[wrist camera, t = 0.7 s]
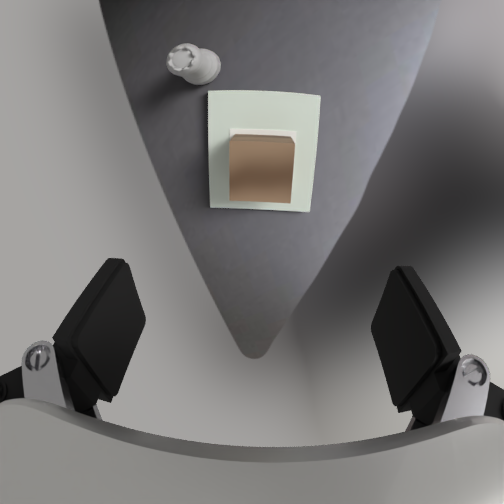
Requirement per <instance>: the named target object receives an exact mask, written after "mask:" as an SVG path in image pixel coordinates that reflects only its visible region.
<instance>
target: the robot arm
mask: <svg viewBox="0 0 504 504" xmlns="http://www.w3.org/2000/svg"><path fill="white" fill-rule="evenodd" d="M145 321H146V317H145V314H144V311H143V308H142V305H141V302H140V299H139V296H138V293H137V290H136V287H135V283H134V280H133V277H132V273H131V270H130V267H129V265H128V263H125V261H124V259H118V258H117V259H116V258H108V259H107V260H106V261H105V263H104V264H103V265H102V267H101V268H100V269H99V271H98V272H97V273H96V274H95V276H94V277H93V278H92V280H91V281H90V283H89V284H88V285H87V287H86V288H85V290H84V291H83V292H82V294H81V295H80V297H79V298H78V299H77V301H76V302H75V304H74V305H73V307H72V308H71V310H70V311H69V313H68V314H67V316H66V317H65V319H64V320H63V322H62V323H61V325H60V326H59V328H58V329H57V331H56V333H55V334H54V336H53V337H52V338H53V340H54V341H55V343H54V345H52V344H51V343H50V342H47V341H38V342H35V343H34V344H32V345H31V346H30V347H28V348H27V350H26V351H25V353H24V355H23V357H22V366H21V367H18V368H16V369H14V370H12V371H10V372H8V373H6V374H4V375H2V376H0V504H504V390H503V389H502V388H500V387H498V386H496V385H495V384H493V383H491V382H490V372H489V368H488V367H487V365H486V363H485V362H484V361H483V360H482V359H481V358H479V357H478V356H475V355H465V356H463V357H462V358H460V356H459V354H460V352H461V349H460V347H459V345H458V343H457V341H456V339H455V337H454V335H453V334H452V332H451V330H450V328H449V326H448V325H447V322H446V321H445V319H444V317H443V315H442V314H441V312H440V310H439V309H438V307H437V305H436V303H435V302H434V300H433V298H432V297H431V295H430V294H429V292H428V290H427V289H426V287H425V285H424V284H423V282H422V281H421V279H420V278H419V276H418V275H417V273H416V272H415V270H414V269H413V268H412V267H411V266H397V267H396V268H395V270H392V271H391V273H390V276H389V279H388V281H387V284H386V287H385V290H384V293H383V295H382V298H381V301H380V303H379V306H378V309H377V311H376V314H375V316H374V319H373V321H372V325H371V332H372V335H373V338H374V341H375V344H376V347H377V350H378V354H379V357H380V360H381V363H382V367H383V370H384V374H385V377H386V381H387V384H388V388H389V391H390V395H391V399H392V402H393V404H394V405H395V406H397V409H398V413H400V412H405V411H410V410H411V411H412V414H413V416H412V418H411V421H410V423H409V425H408V427H407V429H406V431H405V432H402V433H398V434H393V435H388V436H384V437H379V438H373V439H367V440H362V441H355V442H348V443H340V444H330V445H319V446H306V447H305V446H303V447H244V446H230V445H218V444H209V443H201V442H194V441H187V440H181V439H175V438H169V437H164V436H159V435H155V434H150V433H146V432H141V431H137V430H134V429H129V428H126V427H122V426H119V425H115V424H112V423H109V422H105V421H102V419H101V416H100V413H99V410H98V408H97V405H96V403H97V400H98V399H100V400H103V401H107V402H110V403H111V401H112V398H113V396H116V395H117V394H118V391H119V389H120V386H121V383H122V380H123V378H124V375H125V372H126V370H127V367H128V365H129V362H130V360H131V357H132V355H133V352H134V350H135V348H136V345H137V342H138V340H139V338H140V335H141V333H142V330H143V328H144V326H145Z"/></svg>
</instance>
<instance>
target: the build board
mask: <svg viewBox="0 0 504 504" xmlns="http://www.w3.org/2000/svg"><path fill="white" fill-rule="evenodd" d="M320 98H321V96H319V95H310V94H301V93H290V92H275V91H250V90H223V91H208V151H209V189H210V208H240V209H263V210H282V211H299V212H310V204H311V196H312V187H313V178H314V169H315V159H316V149H317V138H318V126H319V113H320ZM235 134H254V135H276V136H291V138H292V139H293V141H294V143H295V155H294V168H293V180H292V192H291V203H273V202H251V201H229V141H230V140H231V138H232V137H233V136H234V135H235Z"/></svg>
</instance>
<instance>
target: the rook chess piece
mask: <svg viewBox="0 0 504 504" xmlns="http://www.w3.org/2000/svg"><path fill="white" fill-rule="evenodd" d="M166 64H167V67H168V70H169V71H170V72H171V73H172V74H174V75H177V76H182V77H183V78H184V79H185V80H186V81H187V82H189V83H192V84H194V85H204V84H207V83H209V82H211V81H212V80H214V79H215V78H216V77H217V75H218V73H219V71H220V66H221V63H220V60H219V57H218V56H217V55H216V54H215V53H214V52H212V51H210V50H207V49H204V48H203V49H199V48H197V47H196V46H195V45H192V44H189V43H187V44H180V45H178V46H176V47H174V48H173V49H172V50H171V51H170V52H169V54H168V56H167V62H166Z"/></svg>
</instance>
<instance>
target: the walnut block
mask: <svg viewBox="0 0 504 504" xmlns="http://www.w3.org/2000/svg"><path fill="white" fill-rule="evenodd" d="M294 155H295V143H294V141H293V139H292V138H291V136H276V135H254V134H235V135H234V136H233V137H232V138H231V140H230V141H229V201H251V202H273V203H291V192H292V180H293V168H294Z"/></svg>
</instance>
